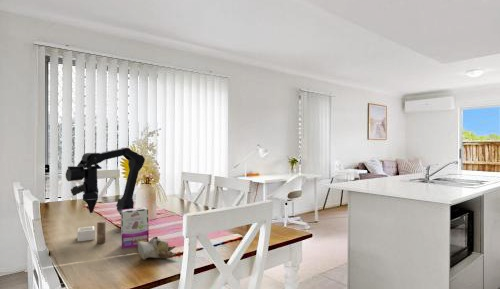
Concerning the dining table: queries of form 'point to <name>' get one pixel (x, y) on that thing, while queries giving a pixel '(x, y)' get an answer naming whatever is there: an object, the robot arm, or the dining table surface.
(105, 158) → the robot arm
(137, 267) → the dining table surface
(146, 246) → the ceramic sculpture
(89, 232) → the white square frame
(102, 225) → the dowel
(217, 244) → the dining table surface
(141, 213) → the candy bar box
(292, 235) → the dining table surface
